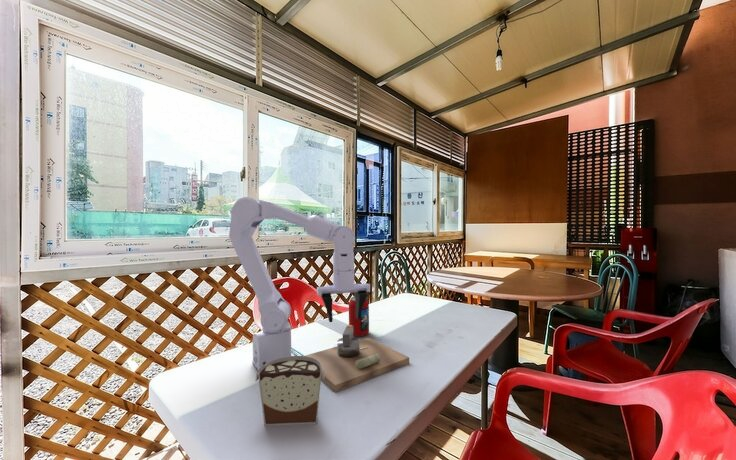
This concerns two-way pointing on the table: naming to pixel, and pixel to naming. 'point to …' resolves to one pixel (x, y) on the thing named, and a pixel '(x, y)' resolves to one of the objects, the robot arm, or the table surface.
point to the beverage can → (359, 324)
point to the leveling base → (348, 367)
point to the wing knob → (348, 344)
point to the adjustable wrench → (295, 352)
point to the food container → (290, 390)
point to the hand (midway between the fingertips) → (344, 319)
